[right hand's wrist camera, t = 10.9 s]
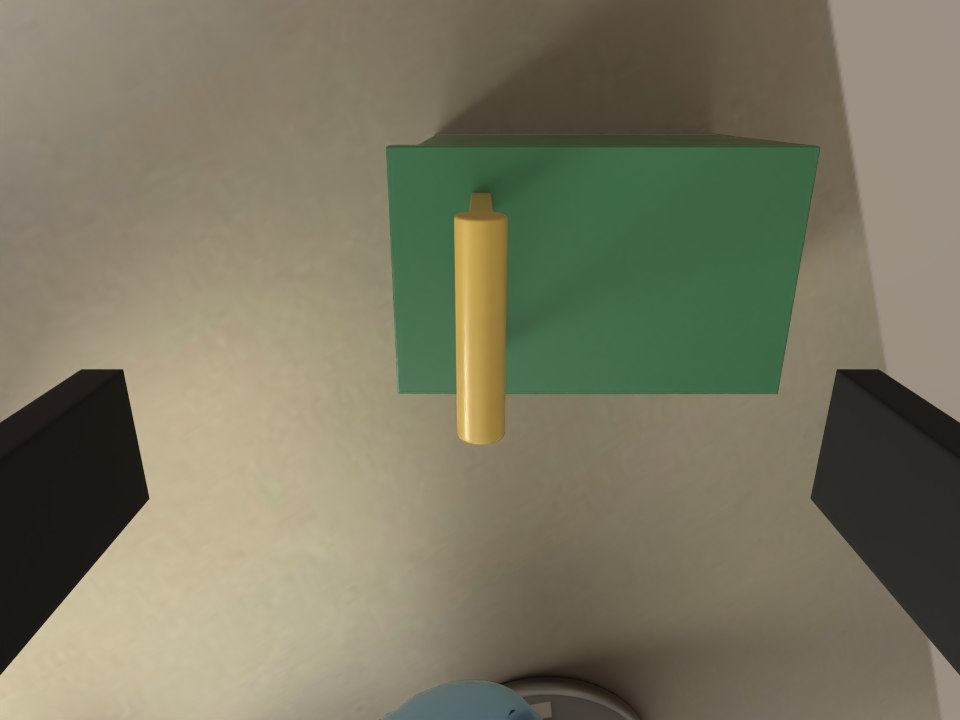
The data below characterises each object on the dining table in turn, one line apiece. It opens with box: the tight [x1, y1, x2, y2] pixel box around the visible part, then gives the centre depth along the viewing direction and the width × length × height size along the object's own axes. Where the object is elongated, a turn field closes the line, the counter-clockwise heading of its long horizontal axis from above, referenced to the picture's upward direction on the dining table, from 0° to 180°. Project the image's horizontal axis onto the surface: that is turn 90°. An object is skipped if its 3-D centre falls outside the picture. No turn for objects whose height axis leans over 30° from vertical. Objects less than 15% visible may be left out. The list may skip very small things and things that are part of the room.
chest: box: [420, 134, 804, 145], centre depth 30 cm, size 14×9×10 cm, turn 90°
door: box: [386, 145, 820, 444], centre depth 21 cm, size 15×9×8 cm, turn 90°
